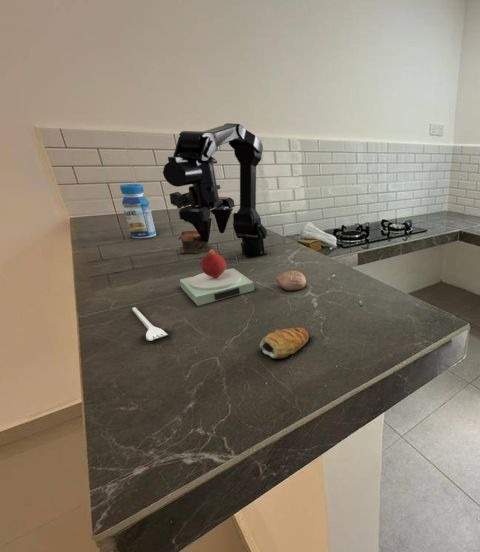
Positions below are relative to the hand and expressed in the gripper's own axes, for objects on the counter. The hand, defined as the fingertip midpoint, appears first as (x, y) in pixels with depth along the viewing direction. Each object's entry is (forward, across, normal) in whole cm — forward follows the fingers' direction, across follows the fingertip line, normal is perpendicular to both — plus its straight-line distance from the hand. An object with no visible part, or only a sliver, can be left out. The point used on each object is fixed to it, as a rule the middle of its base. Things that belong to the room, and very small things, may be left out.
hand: (214, 237), depth 94 cm
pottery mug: (+12, -22, -19) cm, 31 cm away
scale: (+12, +10, +4) cm, 16 cm away
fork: (+11, +30, -1) cm, 32 cm away
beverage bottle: (+12, -37, -48) cm, 61 cm away
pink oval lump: (+12, +7, +23) cm, 27 cm away
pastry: (+11, +37, +30) cm, 49 cm away
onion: (+8, +10, +4) cm, 14 cm away
